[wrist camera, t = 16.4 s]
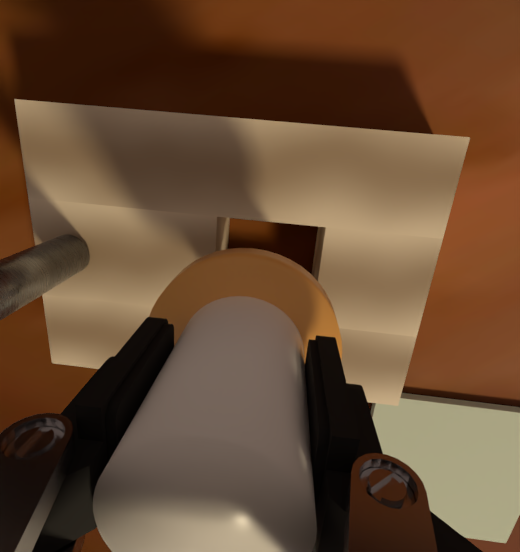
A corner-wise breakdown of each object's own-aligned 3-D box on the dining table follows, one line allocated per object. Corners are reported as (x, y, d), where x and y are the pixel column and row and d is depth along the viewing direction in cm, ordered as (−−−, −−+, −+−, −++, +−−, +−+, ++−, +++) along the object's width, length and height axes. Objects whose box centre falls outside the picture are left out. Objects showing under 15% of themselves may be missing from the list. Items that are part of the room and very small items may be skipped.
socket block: (381, 364, 24) (398, 405, 20) (88, 330, 25) (52, 363, 21) (435, 138, 19) (470, 137, 15) (66, 107, 20) (14, 98, 16)
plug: (316, 362, 17) (353, 655, 7) (185, 347, 18) (49, 611, 8) (337, 231, 15) (429, 398, 5) (187, 217, 16) (-1, 348, 5)
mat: (501, 535, 28) (505, 543, 28) (346, 513, 29) (347, 520, 28) (559, 411, 24) (565, 418, 23) (375, 389, 25) (377, 395, 24)
